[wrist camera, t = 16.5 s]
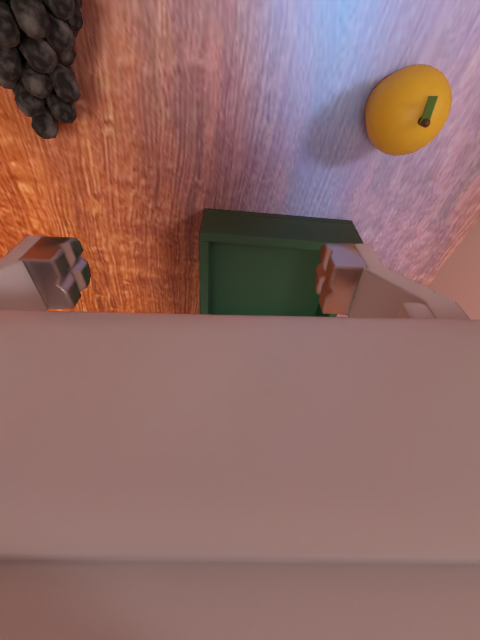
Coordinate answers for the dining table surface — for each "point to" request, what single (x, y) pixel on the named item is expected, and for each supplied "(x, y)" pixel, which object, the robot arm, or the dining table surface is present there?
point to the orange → (407, 109)
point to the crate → (264, 262)
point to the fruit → (41, 59)
